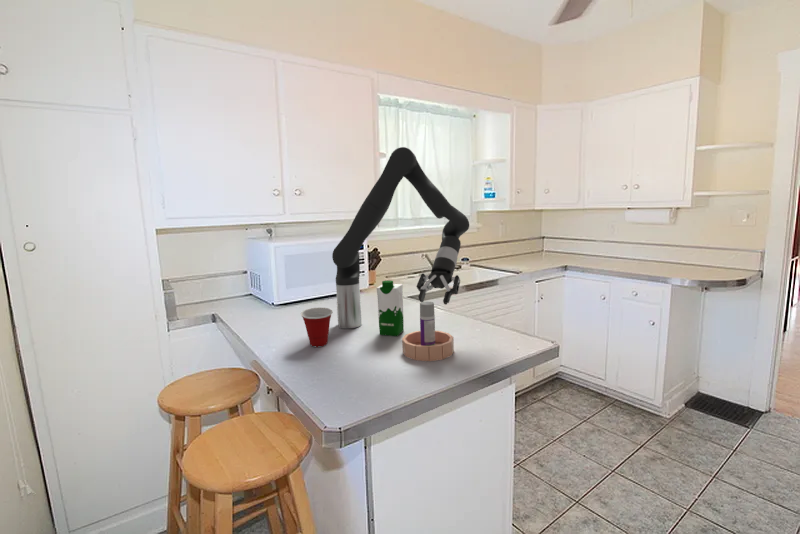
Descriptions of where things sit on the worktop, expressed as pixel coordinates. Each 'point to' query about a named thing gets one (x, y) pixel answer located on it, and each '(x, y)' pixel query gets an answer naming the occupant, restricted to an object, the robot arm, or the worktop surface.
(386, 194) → the robot arm
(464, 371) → the worktop surface
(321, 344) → the plastic cup
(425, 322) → the container
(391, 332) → the milk carton
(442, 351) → the bowl
